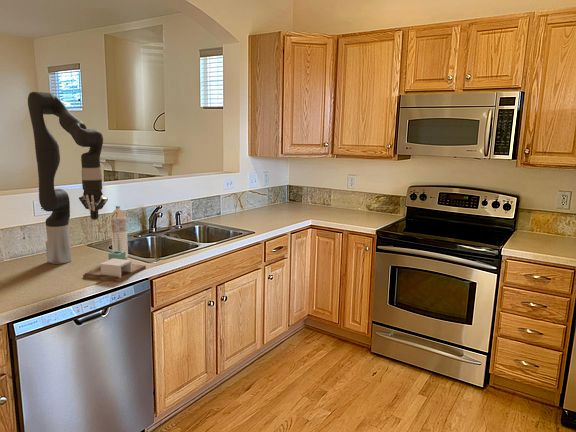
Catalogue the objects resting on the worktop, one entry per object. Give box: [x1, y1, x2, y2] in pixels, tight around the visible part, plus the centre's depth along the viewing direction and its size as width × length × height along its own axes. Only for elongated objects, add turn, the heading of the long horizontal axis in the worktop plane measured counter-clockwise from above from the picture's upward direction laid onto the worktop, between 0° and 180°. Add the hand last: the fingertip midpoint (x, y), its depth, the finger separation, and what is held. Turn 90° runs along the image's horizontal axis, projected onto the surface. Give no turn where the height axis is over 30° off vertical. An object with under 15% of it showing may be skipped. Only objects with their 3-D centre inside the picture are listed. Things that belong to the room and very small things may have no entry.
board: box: [82, 263, 147, 283], centre depth 187 cm, size 17×19×6 cm
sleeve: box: [107, 250, 127, 260], centre depth 193 cm, size 5×5×6 cm
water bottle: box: [110, 205, 129, 259], centre depth 208 cm, size 7×7×25 cm
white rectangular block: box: [99, 258, 133, 278], centre depth 182 cm, size 9×8×5 cm
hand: (94, 219), depth 185 cm, fingers closed
